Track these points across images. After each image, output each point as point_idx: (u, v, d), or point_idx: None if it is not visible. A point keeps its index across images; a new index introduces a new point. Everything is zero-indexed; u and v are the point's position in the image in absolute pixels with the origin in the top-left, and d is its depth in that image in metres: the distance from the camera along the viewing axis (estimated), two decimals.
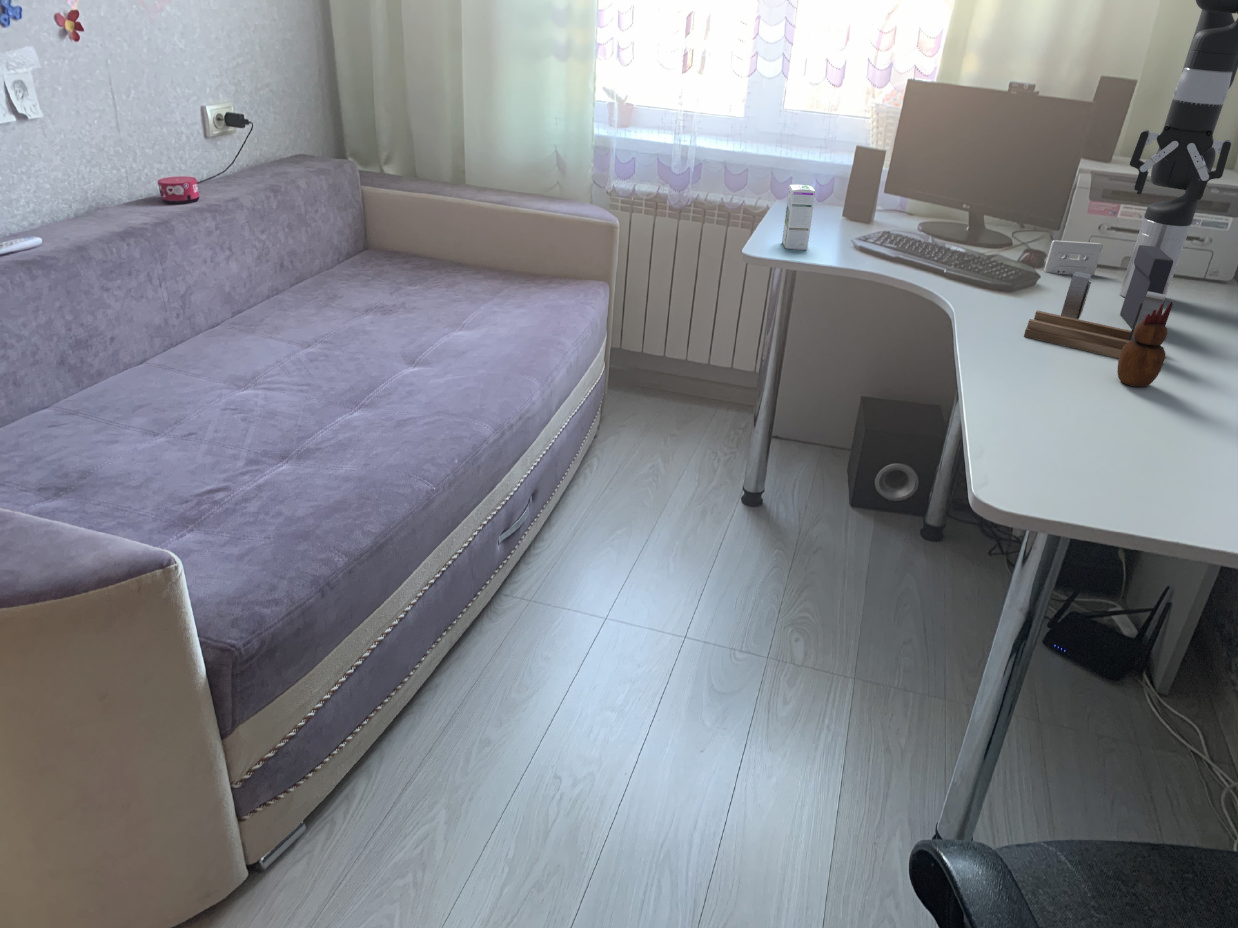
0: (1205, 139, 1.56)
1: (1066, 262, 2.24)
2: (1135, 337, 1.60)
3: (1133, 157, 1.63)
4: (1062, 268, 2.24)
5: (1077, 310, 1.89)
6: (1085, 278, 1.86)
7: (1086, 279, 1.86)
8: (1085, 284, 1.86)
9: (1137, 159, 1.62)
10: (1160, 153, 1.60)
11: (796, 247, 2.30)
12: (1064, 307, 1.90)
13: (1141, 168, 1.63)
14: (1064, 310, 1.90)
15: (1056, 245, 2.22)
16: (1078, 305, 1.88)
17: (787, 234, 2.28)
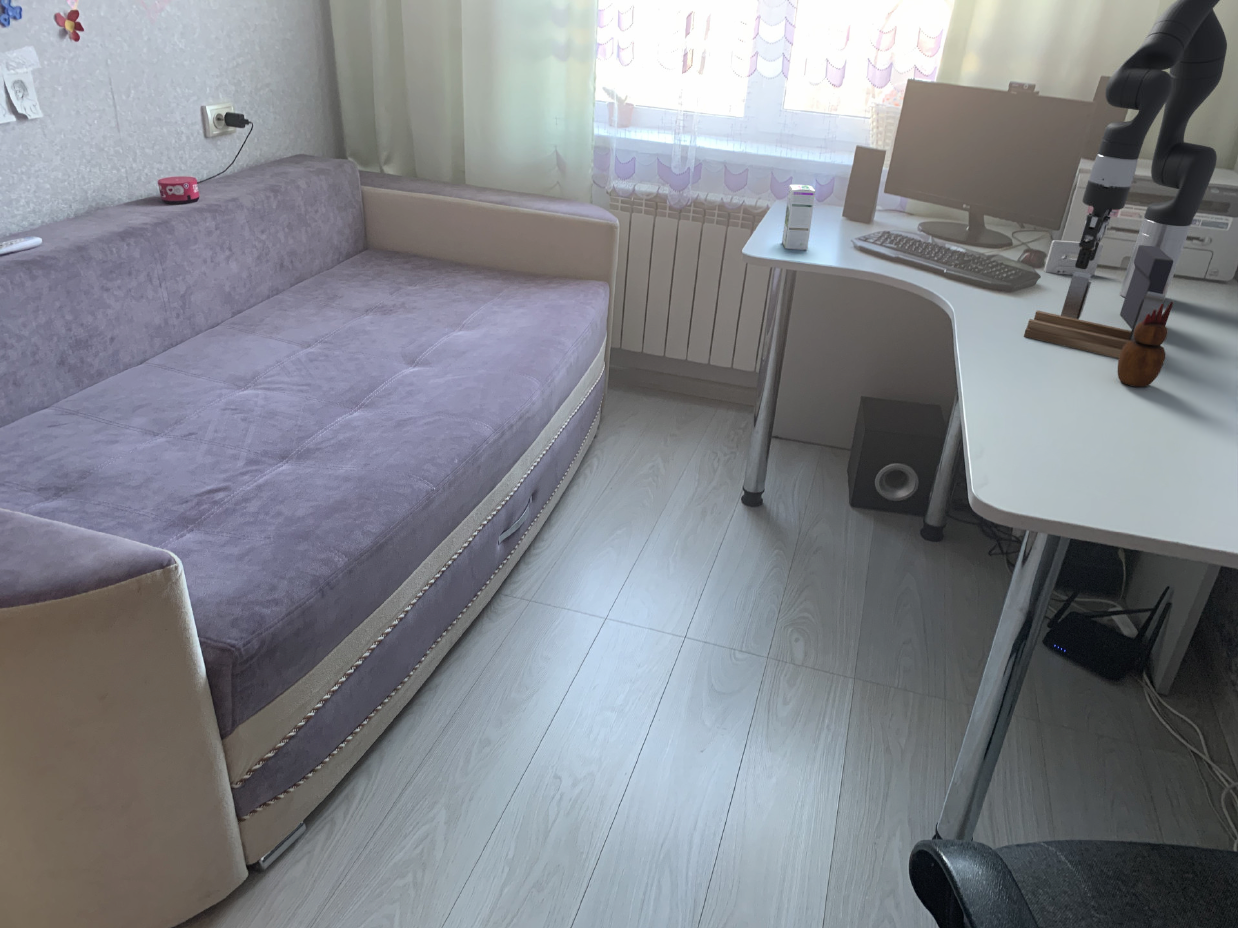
0: (1108, 210, 1.84)
1: (1066, 262, 2.24)
2: (1135, 337, 1.60)
3: (1094, 241, 1.78)
4: (1062, 268, 2.24)
5: (1077, 310, 1.89)
6: (1085, 278, 1.86)
7: (1086, 279, 1.86)
8: (1085, 284, 1.86)
9: (1094, 242, 1.79)
10: (1102, 231, 1.80)
11: (796, 247, 2.30)
12: (1064, 307, 1.90)
13: (1093, 248, 1.80)
14: (1064, 310, 1.90)
15: (1056, 245, 2.22)
16: (1078, 305, 1.88)
17: (787, 234, 2.28)
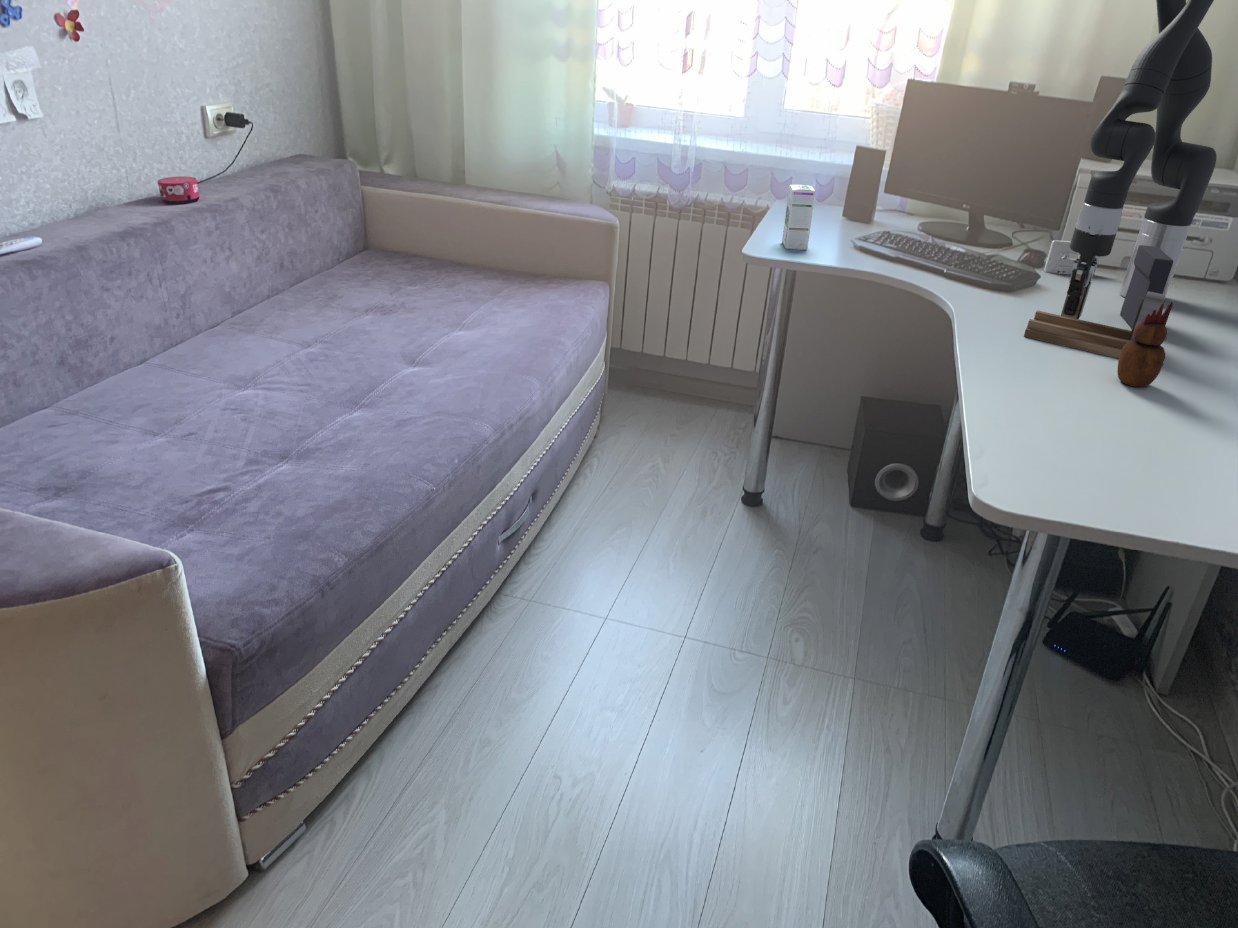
0: (1095, 255, 1.88)
1: (1066, 262, 2.24)
2: (1135, 337, 1.60)
3: (1081, 291, 1.84)
4: (1062, 268, 2.24)
5: (1077, 310, 1.89)
6: None
7: None
8: None
9: (1082, 290, 1.85)
10: (1089, 279, 1.85)
11: (796, 247, 2.30)
12: (1064, 307, 1.90)
13: (1081, 296, 1.86)
14: None
15: (1056, 245, 2.22)
16: (1078, 305, 1.88)
17: (787, 234, 2.28)
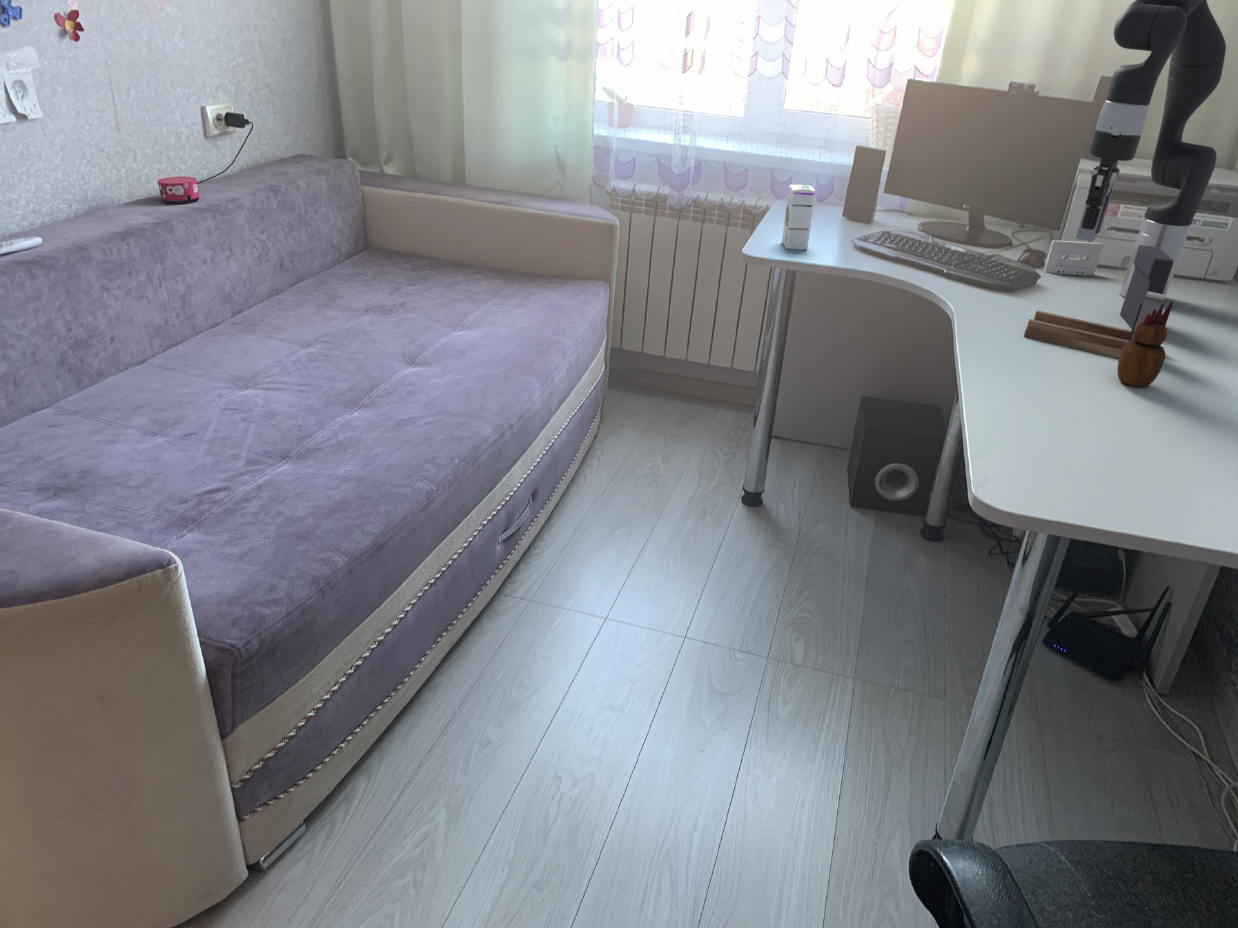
0: None
1: (1066, 262, 2.24)
2: (1135, 337, 1.60)
3: (1101, 200, 1.67)
4: (1062, 268, 2.24)
5: (1096, 223, 1.71)
6: None
7: None
8: None
9: (1102, 199, 1.67)
10: (1110, 187, 1.68)
11: (796, 247, 2.30)
12: (1082, 220, 1.72)
13: (1101, 206, 1.69)
14: None
15: (1056, 245, 2.22)
16: (1098, 217, 1.71)
17: (787, 234, 2.28)
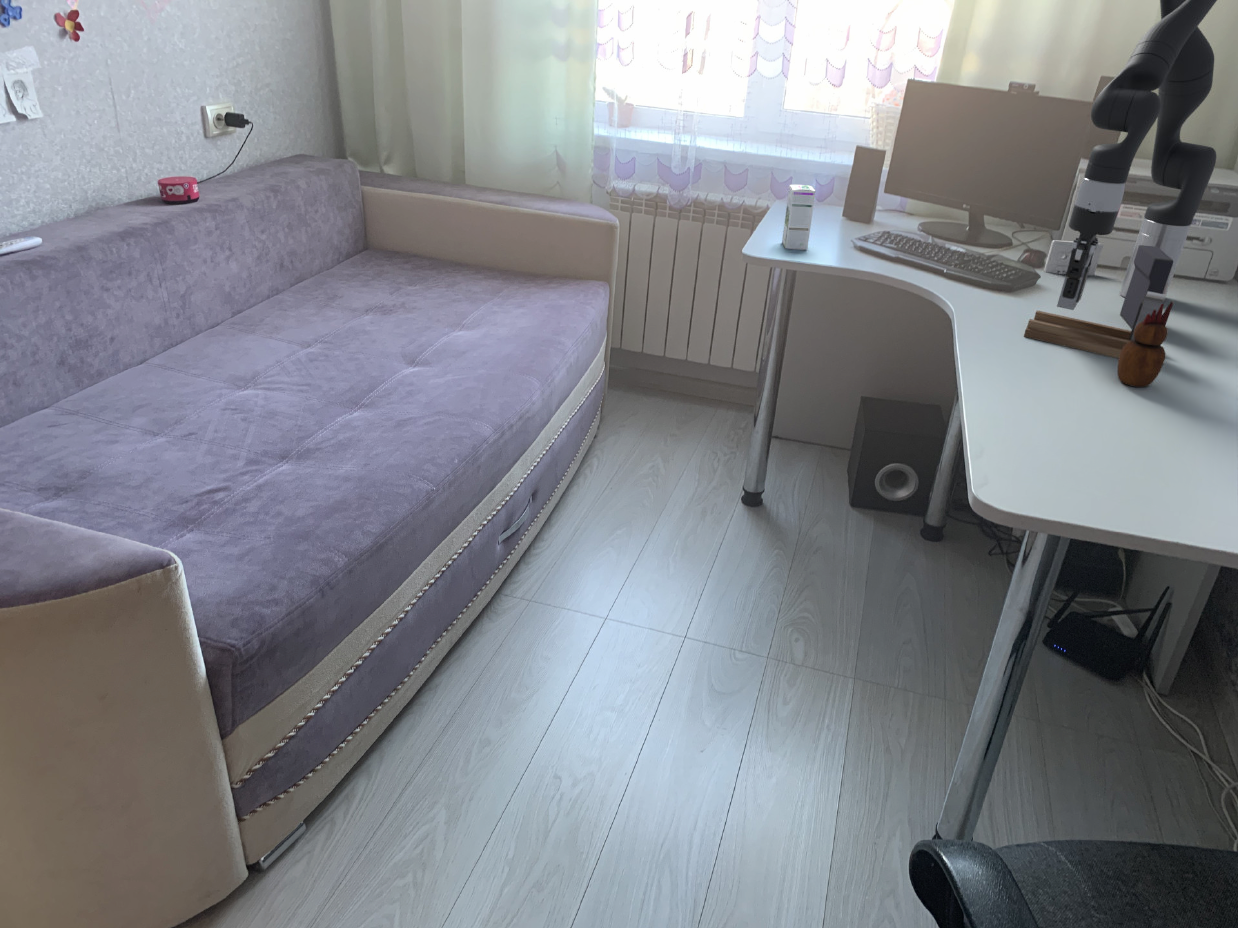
0: None
1: (1066, 262, 2.24)
2: (1135, 337, 1.60)
3: (1081, 272, 1.73)
4: (1062, 268, 2.24)
5: (1076, 293, 1.77)
6: None
7: (1086, 259, 1.75)
8: None
9: (1081, 271, 1.73)
10: (1089, 259, 1.74)
11: (796, 247, 2.30)
12: (1063, 290, 1.79)
13: (1081, 277, 1.75)
14: None
15: (1056, 245, 2.22)
16: None
17: (787, 234, 2.28)
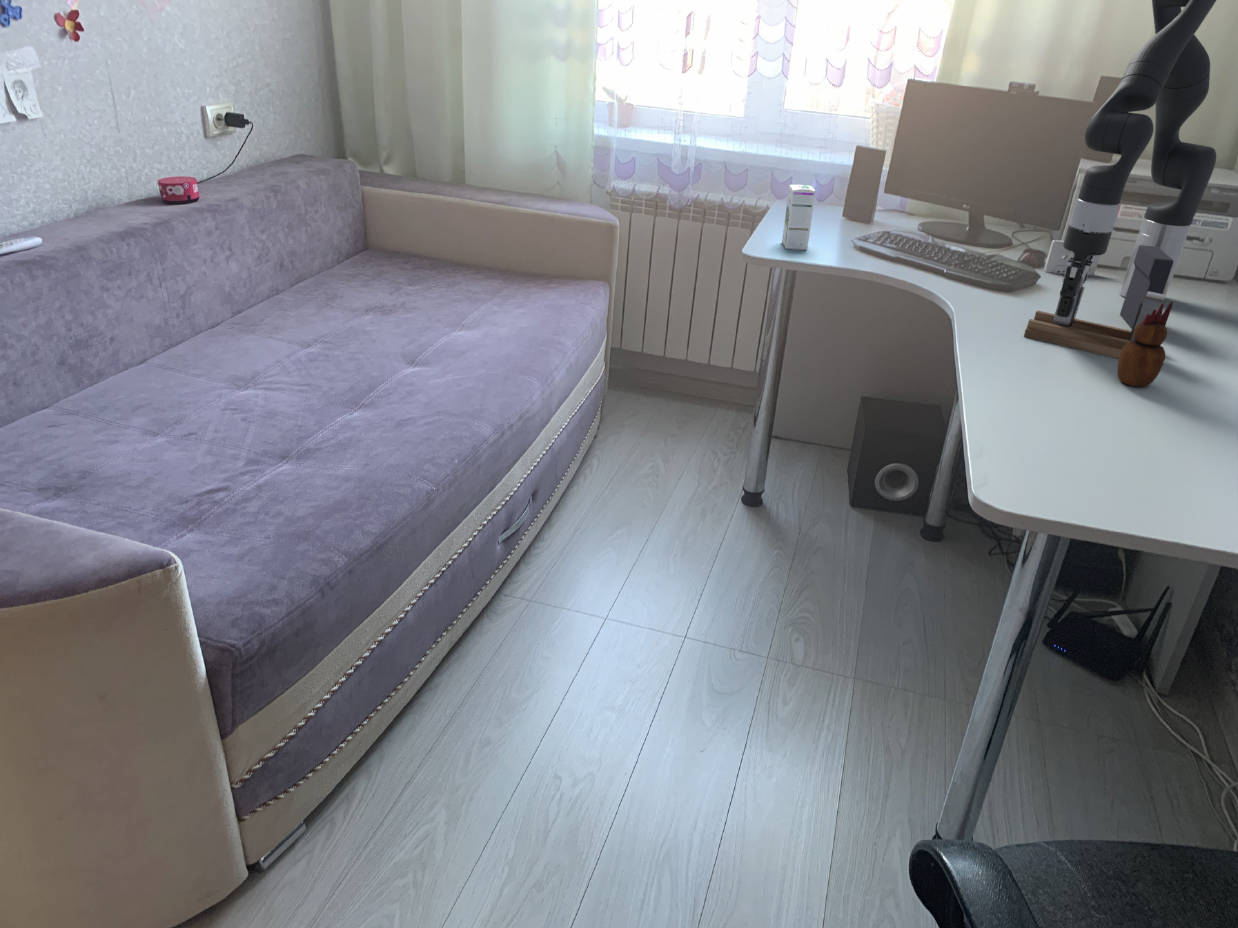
0: (1090, 254, 1.78)
1: (1066, 262, 2.24)
2: (1135, 337, 1.60)
3: (1075, 291, 1.74)
4: (1062, 268, 2.24)
5: (1070, 316, 1.80)
6: None
7: None
8: (1078, 289, 1.77)
9: (1075, 290, 1.74)
10: (1083, 278, 1.75)
11: (796, 247, 2.30)
12: (1056, 313, 1.81)
13: (1075, 296, 1.76)
14: (1056, 317, 1.81)
15: (1056, 245, 2.22)
16: (1071, 311, 1.79)
17: (787, 234, 2.28)
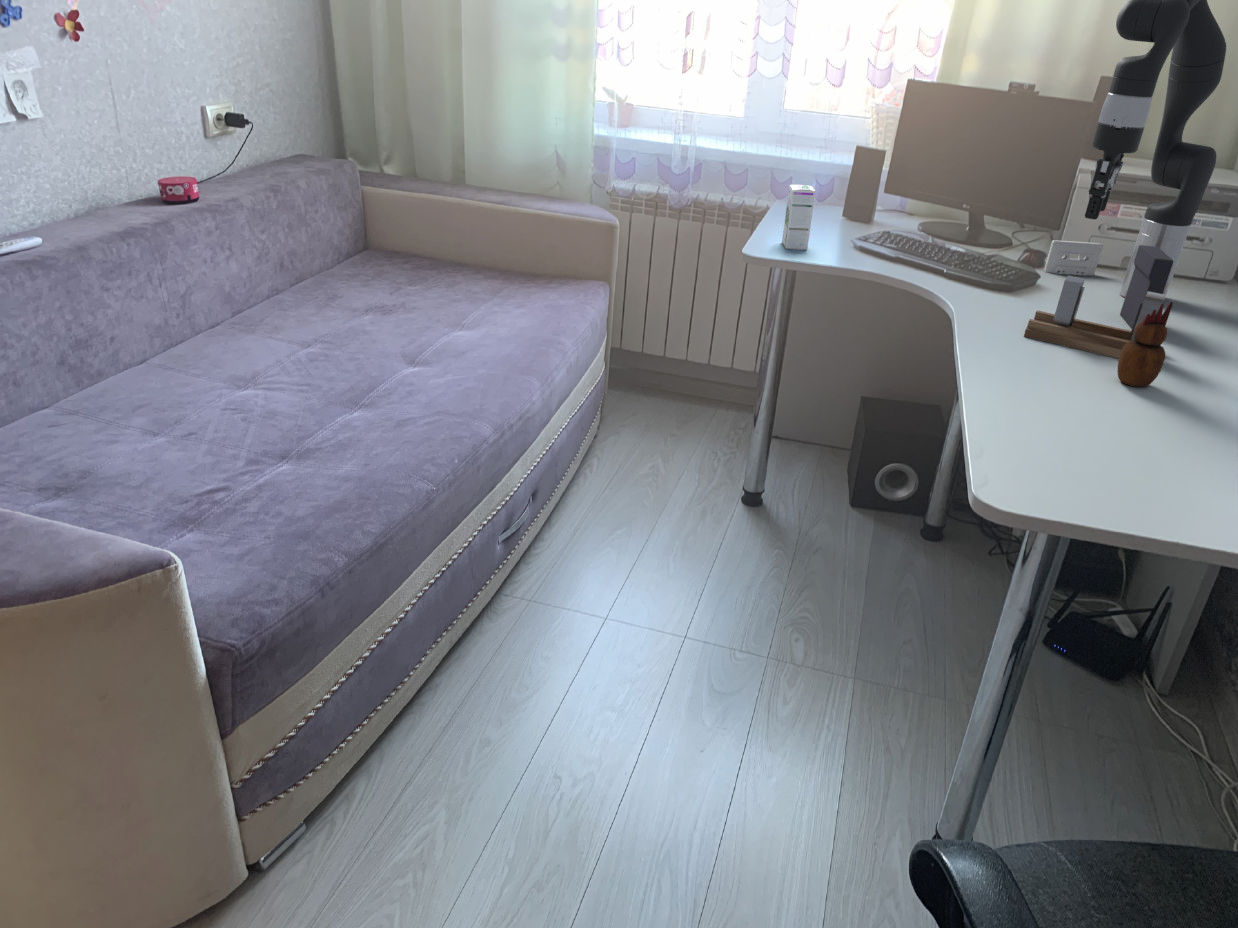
0: (1120, 155, 1.70)
1: (1066, 262, 2.24)
2: (1135, 337, 1.60)
3: (1105, 188, 1.64)
4: (1062, 268, 2.24)
5: (1070, 316, 1.80)
6: (1078, 283, 1.77)
7: (1079, 284, 1.77)
8: (1078, 289, 1.77)
9: (1106, 188, 1.65)
10: (1114, 177, 1.66)
11: (796, 247, 2.30)
12: (1056, 313, 1.81)
13: (1104, 195, 1.66)
14: (1056, 317, 1.81)
15: (1056, 245, 2.22)
16: (1071, 311, 1.79)
17: (787, 234, 2.28)
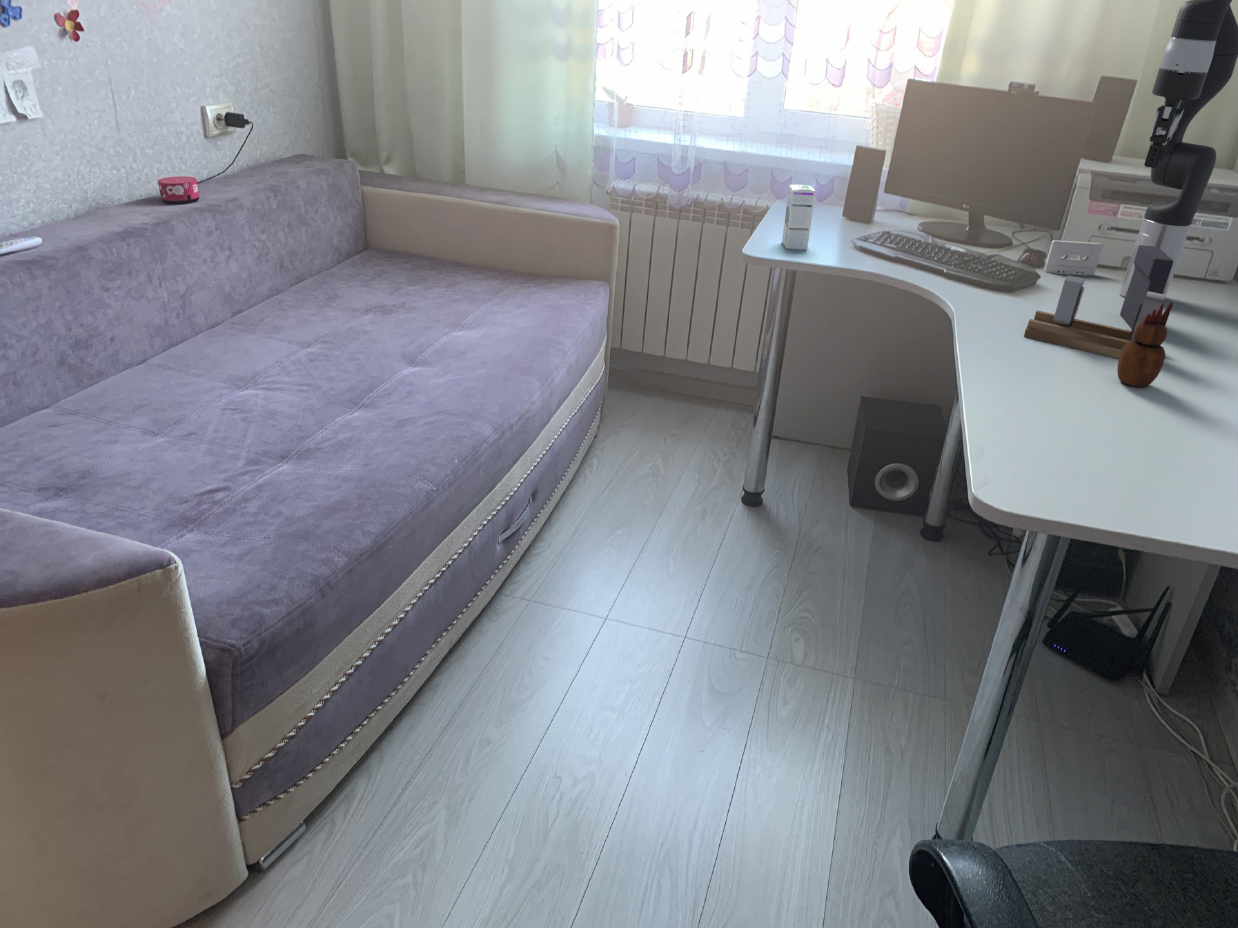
0: (1180, 103, 1.67)
1: (1066, 262, 2.24)
2: (1135, 337, 1.60)
3: (1167, 134, 1.61)
4: (1062, 268, 2.24)
5: (1070, 316, 1.80)
6: (1078, 283, 1.77)
7: (1079, 284, 1.77)
8: (1078, 289, 1.77)
9: (1167, 135, 1.62)
10: (1175, 125, 1.64)
11: (796, 247, 2.30)
12: (1056, 313, 1.81)
13: (1166, 143, 1.64)
14: (1056, 317, 1.81)
15: (1056, 245, 2.22)
16: (1071, 311, 1.79)
17: (787, 234, 2.28)
